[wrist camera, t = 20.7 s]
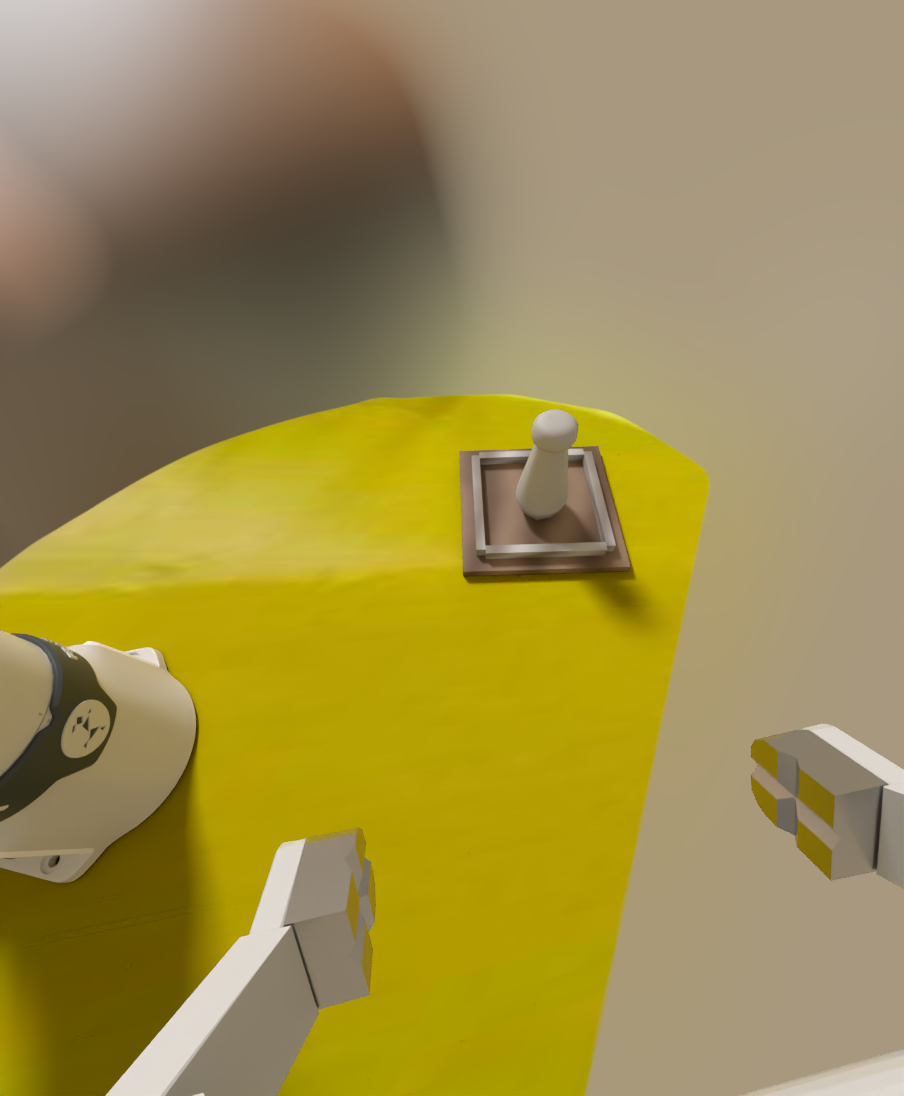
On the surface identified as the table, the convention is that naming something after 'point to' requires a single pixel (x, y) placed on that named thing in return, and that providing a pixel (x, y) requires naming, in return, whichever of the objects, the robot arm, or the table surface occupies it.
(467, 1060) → the table surface
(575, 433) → the salt shaker
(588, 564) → the socket plate
